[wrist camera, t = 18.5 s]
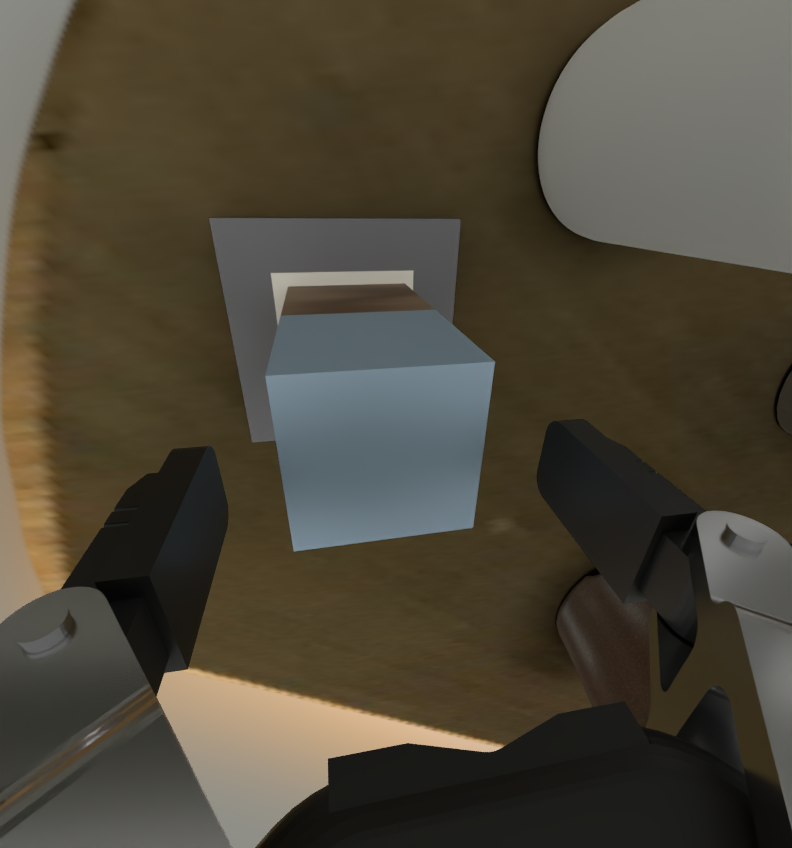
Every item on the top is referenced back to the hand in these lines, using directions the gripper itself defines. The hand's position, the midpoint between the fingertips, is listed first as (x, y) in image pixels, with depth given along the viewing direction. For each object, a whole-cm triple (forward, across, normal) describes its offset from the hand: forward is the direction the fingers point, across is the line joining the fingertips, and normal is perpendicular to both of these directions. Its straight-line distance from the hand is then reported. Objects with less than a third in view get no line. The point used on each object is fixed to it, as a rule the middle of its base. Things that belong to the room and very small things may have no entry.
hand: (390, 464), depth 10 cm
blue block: (+5, 0, 0) cm, 5 cm away
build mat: (+11, 0, 0) cm, 11 cm away
